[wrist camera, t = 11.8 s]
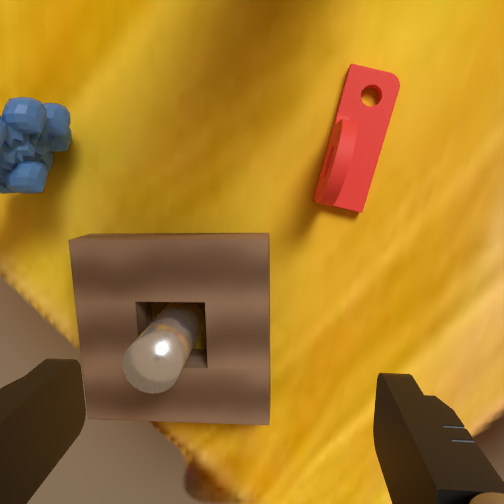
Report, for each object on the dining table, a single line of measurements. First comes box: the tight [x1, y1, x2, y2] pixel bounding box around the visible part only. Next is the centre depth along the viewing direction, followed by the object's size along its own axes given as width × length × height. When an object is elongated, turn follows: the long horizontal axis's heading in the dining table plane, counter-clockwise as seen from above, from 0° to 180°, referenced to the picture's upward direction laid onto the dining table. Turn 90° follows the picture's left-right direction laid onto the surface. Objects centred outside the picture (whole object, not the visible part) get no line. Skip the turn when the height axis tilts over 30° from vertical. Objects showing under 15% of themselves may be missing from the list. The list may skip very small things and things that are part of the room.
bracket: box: [313, 64, 400, 213], centre depth 30 cm, size 12×4×8 cm, turn 167°
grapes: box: [0, 97, 71, 194], centre depth 31 cm, size 12×7×12 cm, turn 132°
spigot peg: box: [122, 302, 205, 394], centre depth 34 cm, size 4×4×10 cm
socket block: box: [69, 233, 270, 425], centre depth 37 cm, size 18×18×4 cm
